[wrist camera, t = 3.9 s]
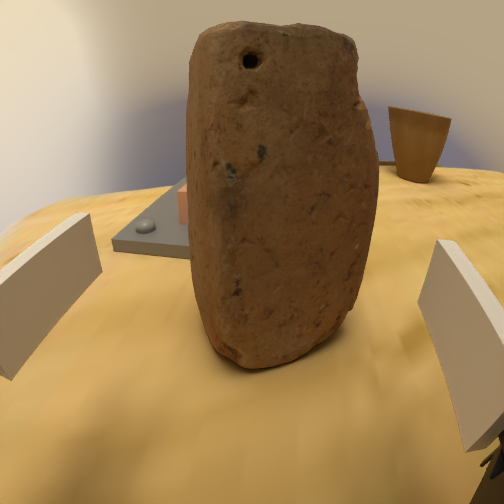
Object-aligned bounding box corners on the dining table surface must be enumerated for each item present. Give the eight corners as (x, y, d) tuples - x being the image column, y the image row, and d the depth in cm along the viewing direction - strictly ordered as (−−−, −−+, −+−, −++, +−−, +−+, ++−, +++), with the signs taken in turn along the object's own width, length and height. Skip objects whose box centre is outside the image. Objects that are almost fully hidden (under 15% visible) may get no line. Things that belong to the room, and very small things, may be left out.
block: (217, 385, 19) (199, 9, 9) (193, 314, 25) (176, 39, 15) (360, 343, 22) (410, 46, 12) (313, 289, 28) (334, 50, 19)
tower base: (335, 192, 53) (338, 160, 50) (354, 274, 30) (363, 222, 28) (188, 182, 56) (187, 153, 54) (113, 251, 34) (105, 205, 31)
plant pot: (423, 172, 72) (430, 112, 64) (452, 191, 59) (463, 121, 51) (372, 166, 72) (378, 103, 64) (397, 185, 59) (406, 108, 51)
